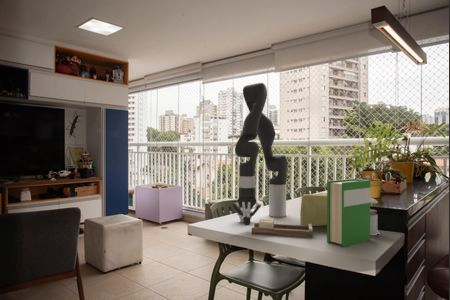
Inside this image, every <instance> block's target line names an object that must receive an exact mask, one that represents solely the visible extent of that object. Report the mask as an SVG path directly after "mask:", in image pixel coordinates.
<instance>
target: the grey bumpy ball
mask: <svg viewBox="0 0 450 300" xmlns="http://www.w3.org/2000/svg"><path fill="white" fill-rule="evenodd" d="M239 208H240V209H241V211H242V212H243V209H242V208H241V206H240V205H239ZM252 212H253V211H252V210H251V213H252ZM236 214H237V216H238V217H239V219H240V221H239V223H241V222H244V217H243V216H242V215H239V213H238V212H237V211H236ZM252 217H253V216H251V217H250V220H251V219H252ZM251 223H252V222H251V221H250V224H251Z"/></svg>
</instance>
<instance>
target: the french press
mask: <svg viewBox="0 0 450 300" xmlns="http://www.w3.org/2000/svg"><path fill="white" fill-rule="evenodd" d="M370 178H371V176H370V175H365V179H370ZM378 203H379V201H378V200H376V199H375V198H373V197H370V205H373V204H378ZM377 212H378V211H377V210H376V209H372V208H370V236H378V235H377V234H379V235H381V233H380V232H379V230H378V225H379V223H378V222H379V221H378V219H379V218H378V213H377Z"/></svg>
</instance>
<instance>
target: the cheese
mask: <svg viewBox="0 0 450 300" xmlns="http://www.w3.org/2000/svg"><path fill="white" fill-rule="evenodd" d="M299 217H300V218H299V221H300V224H299V225H308V224H311V225H312V227H319V226H321V227H322V226H327V192H321V193H311V194H310V193H309V194H307V193H306V194H305V193H304V194H302V195H301V203H300V214H299Z"/></svg>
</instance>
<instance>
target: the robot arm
mask: <svg viewBox="0 0 450 300" xmlns="http://www.w3.org/2000/svg"><path fill="white" fill-rule="evenodd" d="M242 96H243V99H244V102H245V104H246V107H247V109H248V114H247V115H246V116H245V118H244V121H243V125H242V130H241V131H242V132H241V134H240V136H239V138H238V140H237V142H236V144H235V147H234V152H235V155H236V156H237V157H238V158H249V159H248V161H245V162H241V163H240V164H239V165H238V167H239V168H238V171H239V172H238V176H239V177H238V198H237V201H236V202H234V203H233V204H232V207H233V208H234V209H235V211H236V213H237V212H238V213H239V215H242V216H243V217H244V221H243V225H245V226H250V224H251V223H250V222H251V219H250V217H251V216H252V217H253V216H254V215H256V214H257V212H258V210H260V208H261V206H262V205H261V204H260V203H258V202H257V198H256V163H257V160H258V159H257V158H258V155H259V152H260V147H259V146H261V149H262V154H263V158H264V163H265V167H266V169H267V170H268V171H270V172H275V173H276V172H277V174H276V175H275V176H274V177H271V178H269V181H268V216H270V217H274V218H275V217H276V218H284V217H286V216H287V180H288V179H287V178H288V159H287V156H286V155H284V154H274V153H273V150H272V146H273V143H274V142H275V141H274V140H275V138H276V131H275V130H276V129H275V127H274V126H275V125H274V124H273V121H272V120H271V119H270V118H269V117H268V116H267V115H266V114H265V113H264V112H263V110H264V108H265V105H266V102H267V99H268V88H267V85H266V84H265V83H263V82H257V83H252V84H247V85H244V86H243V88H242ZM257 137H258V140H259V142H260V145H259V143H257V141H254V140H255V139H257ZM240 206H241V207H240ZM240 208H242V209H243V212H242V211H241V209H240ZM253 208H255V209H254V210H253V211H252V209H253ZM251 211H252V213H251ZM238 213H237V214H238ZM239 215H238V216H239ZM252 217H251V218H252Z"/></svg>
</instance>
